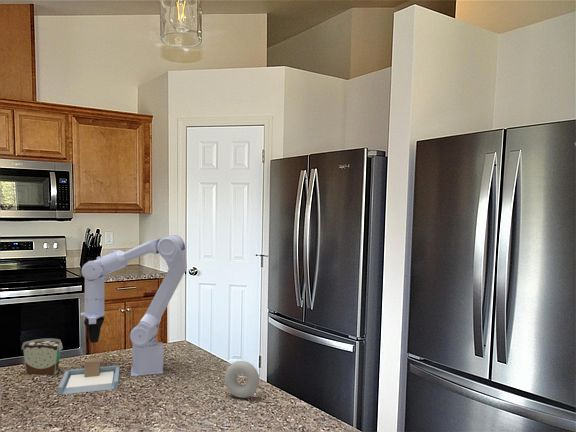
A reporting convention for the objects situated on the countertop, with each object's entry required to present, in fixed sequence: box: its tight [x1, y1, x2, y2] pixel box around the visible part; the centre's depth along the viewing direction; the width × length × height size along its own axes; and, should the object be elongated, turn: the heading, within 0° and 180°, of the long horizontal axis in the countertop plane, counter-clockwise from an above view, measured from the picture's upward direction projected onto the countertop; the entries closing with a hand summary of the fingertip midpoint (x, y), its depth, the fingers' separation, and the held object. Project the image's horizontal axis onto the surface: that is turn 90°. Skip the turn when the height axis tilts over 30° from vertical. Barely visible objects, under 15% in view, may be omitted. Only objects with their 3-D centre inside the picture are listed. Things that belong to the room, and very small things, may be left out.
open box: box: [57, 364, 121, 396], centre depth 133 cm, size 15×14×2 cm
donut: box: [224, 360, 260, 399], centre depth 124 cm, size 10×3×10 cm, turn 74°
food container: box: [21, 338, 64, 376], centre depth 142 cm, size 12×6×10 cm, turn 84°
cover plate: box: [66, 357, 114, 391], centre depth 133 cm, size 12×10×5 cm
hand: (94, 341), depth 143 cm, fingers closed
